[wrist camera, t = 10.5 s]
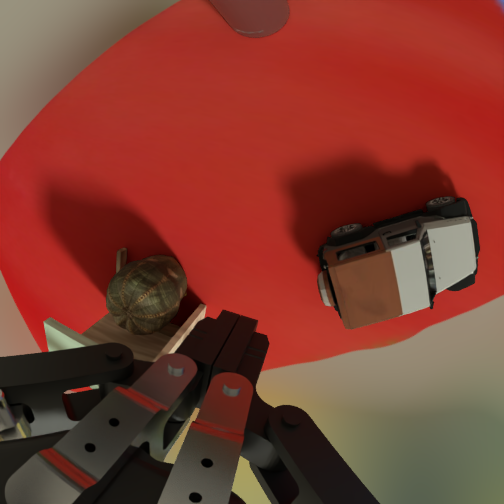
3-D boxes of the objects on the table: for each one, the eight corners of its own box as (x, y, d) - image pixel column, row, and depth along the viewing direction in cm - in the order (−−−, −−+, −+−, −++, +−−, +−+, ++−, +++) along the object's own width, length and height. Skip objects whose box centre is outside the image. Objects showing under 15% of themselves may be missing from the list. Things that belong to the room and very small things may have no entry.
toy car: (474, 269, 39) (503, 295, 29) (331, 312, 46) (332, 349, 37) (461, 188, 36) (494, 198, 27) (308, 234, 43) (303, 256, 34)
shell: (127, 278, 53) (86, 306, 41) (158, 236, 49) (114, 258, 37) (170, 320, 53) (136, 357, 42) (206, 283, 49) (173, 318, 38)
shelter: (119, 246, 51) (38, 287, 33) (211, 275, 48) (150, 341, 30) (117, 310, 55) (51, 363, 37) (200, 343, 53) (149, 417, 35)
